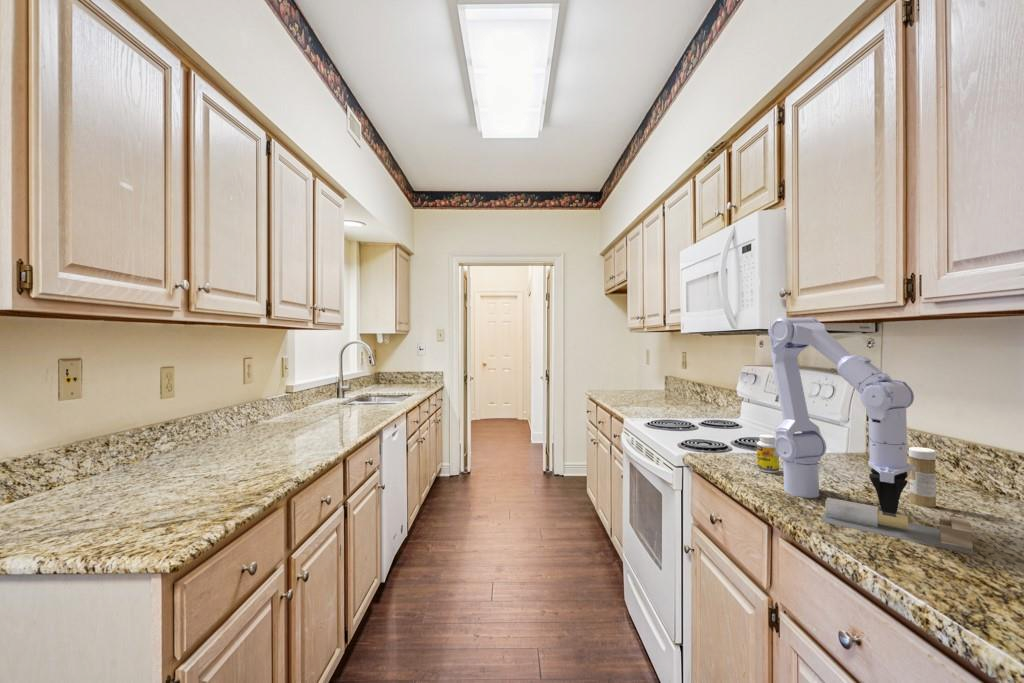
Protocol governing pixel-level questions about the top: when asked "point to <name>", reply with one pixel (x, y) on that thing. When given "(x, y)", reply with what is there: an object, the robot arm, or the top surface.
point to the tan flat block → (893, 520)
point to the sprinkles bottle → (923, 477)
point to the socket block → (956, 532)
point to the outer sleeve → (852, 512)
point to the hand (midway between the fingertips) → (889, 509)
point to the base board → (902, 533)
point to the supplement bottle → (767, 454)
